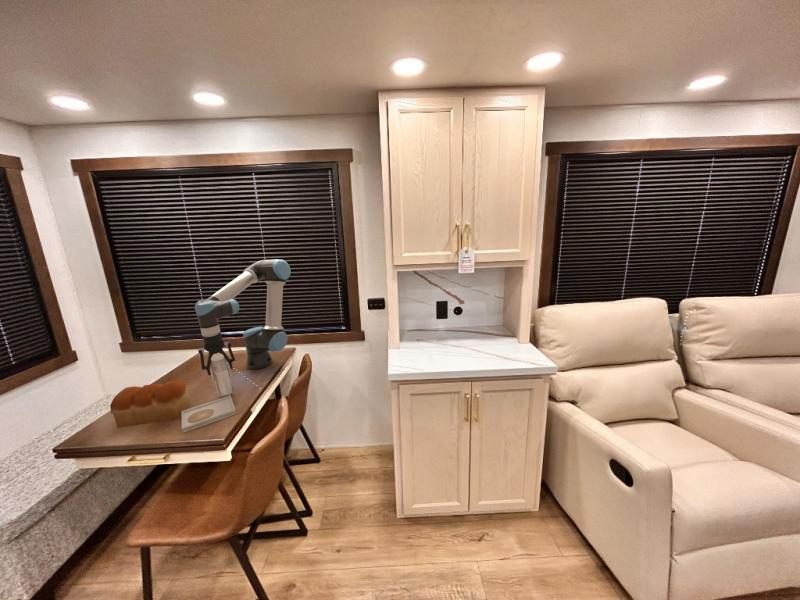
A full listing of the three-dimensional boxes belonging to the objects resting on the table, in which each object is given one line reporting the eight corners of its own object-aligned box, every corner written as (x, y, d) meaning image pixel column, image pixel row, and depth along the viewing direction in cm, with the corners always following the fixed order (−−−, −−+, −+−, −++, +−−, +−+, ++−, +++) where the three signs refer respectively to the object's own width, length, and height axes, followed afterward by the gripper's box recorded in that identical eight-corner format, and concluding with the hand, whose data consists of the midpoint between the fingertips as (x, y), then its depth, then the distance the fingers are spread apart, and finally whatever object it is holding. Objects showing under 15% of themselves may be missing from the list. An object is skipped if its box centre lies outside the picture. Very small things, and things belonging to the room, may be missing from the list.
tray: (231, 399, 150) (230, 395, 149) (236, 413, 137) (235, 409, 136) (182, 415, 139) (181, 411, 138) (182, 432, 126) (181, 428, 125)
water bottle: (235, 393, 151) (224, 347, 145) (219, 399, 147) (207, 352, 141) (232, 388, 157) (221, 343, 150) (217, 393, 153) (205, 348, 146)
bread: (116, 428, 132) (105, 398, 129) (134, 412, 144) (125, 384, 141) (179, 418, 136) (170, 389, 133) (192, 403, 148) (184, 376, 145)
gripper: (233, 327, 152) (242, 368, 158) (186, 337, 141) (198, 381, 147) (235, 330, 146) (245, 373, 152) (186, 342, 135) (199, 388, 141)
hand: (222, 377), depth 150 cm, fingers closed on water bottle, 7 cm apart
